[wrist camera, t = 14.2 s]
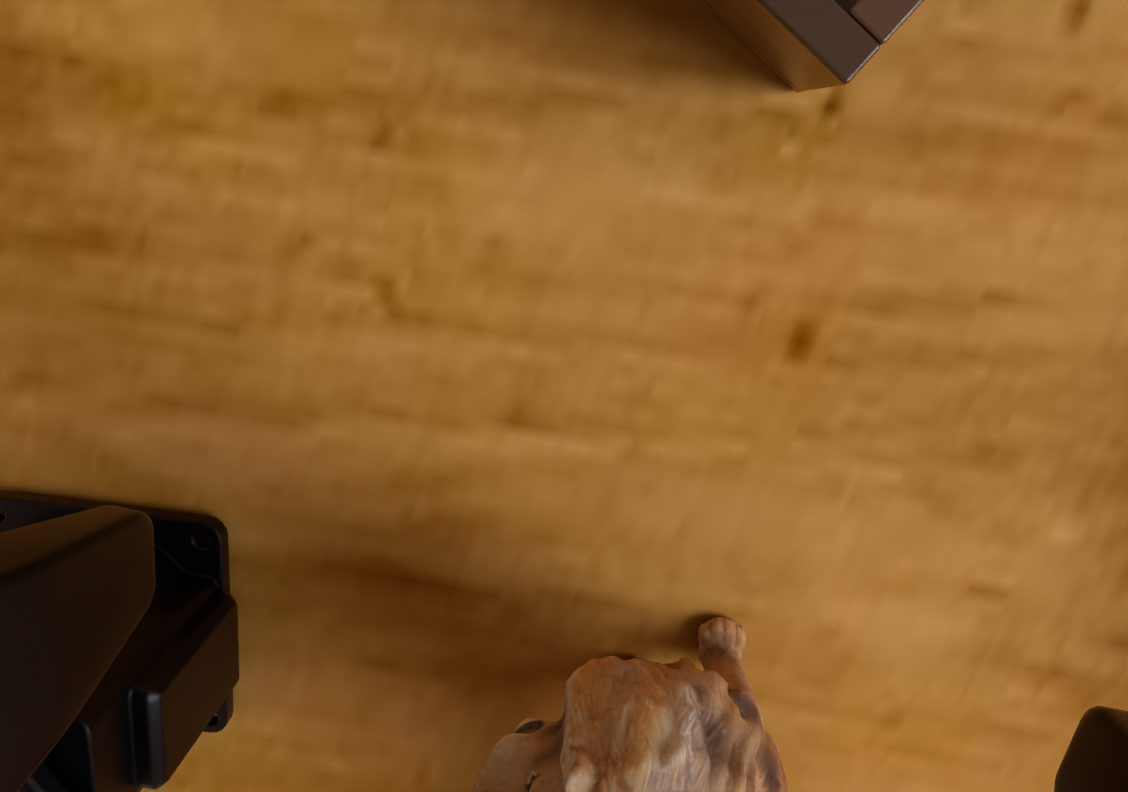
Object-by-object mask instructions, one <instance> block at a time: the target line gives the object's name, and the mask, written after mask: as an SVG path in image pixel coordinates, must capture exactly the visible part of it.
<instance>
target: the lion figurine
mask: <svg viewBox="0 0 1128 792" xmlns="http://www.w3.org/2000/svg"><path fill="white" fill-rule="evenodd" d="M698 639H699V645H700V649H699V651H698V656H699V660H700V662H701V664H702V665H703V668H704V669H705V671H701V670H699V669H697V668H696V667H695V666H694V665H693V664H692V663H691V662H690V661H689V660H688V659H686V658H681V659H680V660H679V661H676V662H674V663H670V664H664V665H663V664H660V663H657V662H651V661H647V660H645V659H636V658H633V659H630V660H622V659H620V658H618V657H616V656H607V657H605V658H601V659H590V660H589V661H588V662H587V663H586V664H585V665H583V666H581V667H579V668H577V669H576V670H575V671H574V672H573V673H572V674H571V676H570V678H569V679H568V680H567V681H566V688H567V689H566V693H565V710H564V714H563V716H562V718H561V719H560V720H559V721H557V722H550V721H545V720H539V719H536V718H526V719H524V720H523V721H521V722H520V723H519V724H518V726H517V727H516V729H515V732H514V733H512V734H509V735H506V736H503V737H502V738H501V739H500V740H498V742H497V743H496V745H495V746H494V748H493V749H492V751H491V752H490V754H489V757H488V759H487V762H486V765H485V767H484V768H483V769H482V770H481V771H479V773H478V774H477V776H476V780H475V785H474V792H787V784H786V777H785V774H784V771H783V768H782V764H781V761H780V758H779V754H778V751H777V748H776V747H775V745H774V743H773V741H772V739H771V737H770V736H769V735H768V734H767V732H766V731H765V730H764V723H763V716H762V712H761V709H760V706H759V704H758V701H757V699H756V697H755V695H754V692H753V691H752V688H751V684H750V682H749V680H748V677H747V675H746V674H745V672H744V670H743V668H742V652H743V649H744V645H745V642H746V635H745V632H744V630H743V628H742V626H741V625H739V624H738V623H736V622H735V621H733V620H732V619H729V618H725V617H715V618H712V619H711V620H709V621H707V622H704V623H703V624H702V625H700V627H699V630H698Z"/></svg>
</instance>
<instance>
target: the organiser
mask: <svg viewBox="0 0 1128 792" xmlns="http://www.w3.org/2000/svg"><path fill="white" fill-rule="evenodd" d="M700 1H701V2H702V3H703V4H704V5H705V6H706V7H707V8H708V9H709V10H710V11H711V12H712V13H713V14H714V15H715V16H716V17H717V18H718V19H719V20H720V21H722V22H723V23H724V24H725V25H726V26H727V27H728V28H729V29H730V30H731V31H732V32H733V33H734V34H735V35H736V36H737V37H738V38H739V39H740V40H741V41H743V42H744V43H745V44H746V45H747V46H748V47H749V48H750V49H751V50H752V51H753V52H754V53H755V54H756V55H757V56H758V57H759V58H760V59H761V60H762V61H763V62H765V63H766V64H767V65H768V66H769V67H770V68H771V69H772V70H773V71H774V72H775V73H776V74H777V75H778V76H779V77H780V78H781V79H782V80H783V81H784V82H786V83H787V84H788V85H789V86H790V87H791V88H792V89H793V90H794V91H795V92H801V91H807V90H813V89H819V88H826V87H832V86H838V85H844V84H847V83H849V82H850V81H851V80H852V79H853V77H854V76H855V75H856V74H857V73H858V72H859V71H860V70H861V69H862V68H863V66H864V65H865V64H866V63H867V62H868V61H869V60H870V59H871V58H872V57H873V55H874V54H875V53H876V52H877V51H878V50H879V48H880V45H882V44H884V43H885V42H886V41H887V40H888V39H889V38H890V37H891V36H892V35H893V34H894V33H895V31H896V30H897V29H898V28H899V27H900V26H901V25H902V24H903V23H904V22H905V21H906V19H907V18H908V17H909V16H910V15H911V14H912V13H913V12H914V11H915V10H916V8H917V7H918V6H919V5H920V4H921V3H922V2H923V1H924V0H700Z"/></svg>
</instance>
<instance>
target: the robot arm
mask: <svg viewBox="0 0 1128 792" xmlns="http://www.w3.org/2000/svg"><path fill="white" fill-rule="evenodd" d="M0 508H1V509H2V510H3V511H4V514H5V516H4V515H2V514H1V513H0V792H140V791H141V789H142V788H149V789H156V790H157V789H158V788H159V787H161V786H162V785H163V784H164V783H166V782H167V781H168V780H169V779H170V777H171V776H172V774H173V773H174V771H175V770H176V769H177V767H178V766H179V764H180V763H181V761H182V760H183V759H184V757H185V756H186V754H187V753H188V752H189V750H190V749H191V747H192V746H193V744H194V743H195V742H196V740H197V739H198V737H199V736H200V734H201V733H202V732H218V731H220V730H222V729H223V728H224V727H225V726H226V724H227V723H228V721H229V720H230V718H231V717H232V714H233V687H234V686H235V685H236V683H237V682H238V680H239V654H238V617H237V603H236V601H235V599H234V598H233V596H232V595H231V594H230V583H229V550H228V533H227V529H226V527H225V526H224V524H223V523H222V522H221V521H220V520H218V519H217V518H215V517H211V516H207V515H199V514H191V513H183V512H174V511H166V510H158V509H150V508H142V507H134V506H125V505H117V504H109V503H101V502H93V501H85V500H77V499H68V498H60V497H52V496H44V495H36V494H28V493H19V492H11V491H0ZM200 531H203V532H206V533H207V534H208V535H209V536H210V537H211V540H212V542H209V541H206V540H204V539H203V538H202V537H201V534H200ZM215 713H216V714H217V716H215V715H214V714H215ZM1054 792H1128V711H1123V710H1118V709H1113V708H1107V707H1102V706H1096V707H1093V708H1090V709H1089V710H1088V711H1087V712H1086V713H1084V715H1083V717H1082V718H1081V720H1080V722H1079V725H1078V727H1077V729H1076V731H1075V734H1074V736H1073V738H1072V740H1071V743H1070V745H1069V747H1068V749H1067V751H1066V754H1065V756H1064V758H1063V760H1062V763H1061V765H1060V767H1059V769H1058V772H1057V775H1056V779H1055V788H1054Z"/></svg>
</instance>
